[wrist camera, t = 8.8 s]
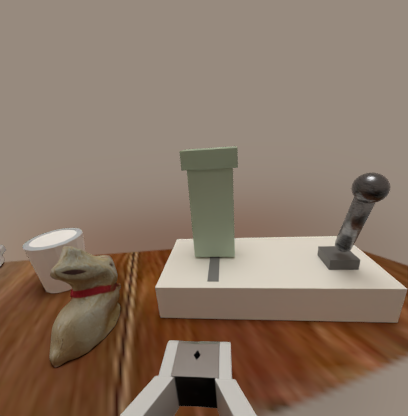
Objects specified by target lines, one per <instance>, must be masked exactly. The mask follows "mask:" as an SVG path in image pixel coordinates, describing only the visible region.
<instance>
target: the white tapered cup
mask: <svg viewBox="0 0 408 416" xmlns="http://www.w3.org/2000/svg"><path fill="white" fill-rule="evenodd" d="M65 246H72V247H75V248H78V249H81V250H83V251H85V245H84V239H83V233H82V230H80V229H78V228H66V229H65V228H64V229H59V230H54V231H50V232H47V233H43V234H41V235H39V236H36V237H34V238H32V239H30V240H29V241H27V242H26V243H25V244H24V245H23V249H24V250H25V252H26V254H27V256H28V258H29V260H30V262H31V264H32V266H33V268H34V270H35V271H36V273H37V275H38V277H39V279H40V281H41V283H42V285H43V287H44V288H45V290H46V292H49V293H60V292H64V291H68V290H70V289H72V287H71V286H70V285H69V284H68V283H66V282H63V281H60V280H55V279H53V278H51V276H50V273H51V269H52V268H53V267H54V266H55V265H56V264H57V263H58V261H59V258H60V255H61V252H62V249H63V247H65Z"/></svg>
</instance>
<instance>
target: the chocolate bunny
mask: <svg viewBox="0 0 408 416" xmlns="http://www.w3.org/2000/svg"><path fill="white" fill-rule="evenodd" d="M50 276H51V278H53V279H55V280H60V281H63V282H66V283H68V284H69V285H70V286H71V287H72V290H71V294H70V296H71V297H72V298H71V301H70V302H69V303H68V304H67V305H66V306H65V307H64V308H63V309H62V310H61V312H60V313H59V314H58V316H57V318H56V320H55V322H54V324H53V327H52V334H51V347H50V362H51V363H52V365H53V366H54V367H58V366H60V365H62V364H63V363H65V362H67V361H69V360H73V359H75V358H78V357H80V356H81V355H84V354H86V353H88V352H89V351H90V350H91V349H92V348H93V347H94V346H95V345H97V344H98V343H100V341H102V340H103V339H104V338H106V336H107V335H108V334H109V332H110V331H111V330H112V329H113V328H114V326H115V325H116V323H117V319H118V317H119V315H120V308H121V307H120V304H119V303H118V299H119V289H120V288H121V285H120V283H118V284H117V283H116V281H117V271H116V268H115V265H114V262H113V260H112V258H111V257H110V256H105V255H103V256H93V255H91V254H89V253H87V252H85V251H83V250H81V249H78V248H75V247H72V246H65V247H63V249H62V252H61V255H60V258H59V261H58V263H57V264H56V265H55V266H54V267H53V268H52V269H51V273H50Z"/></svg>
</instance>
